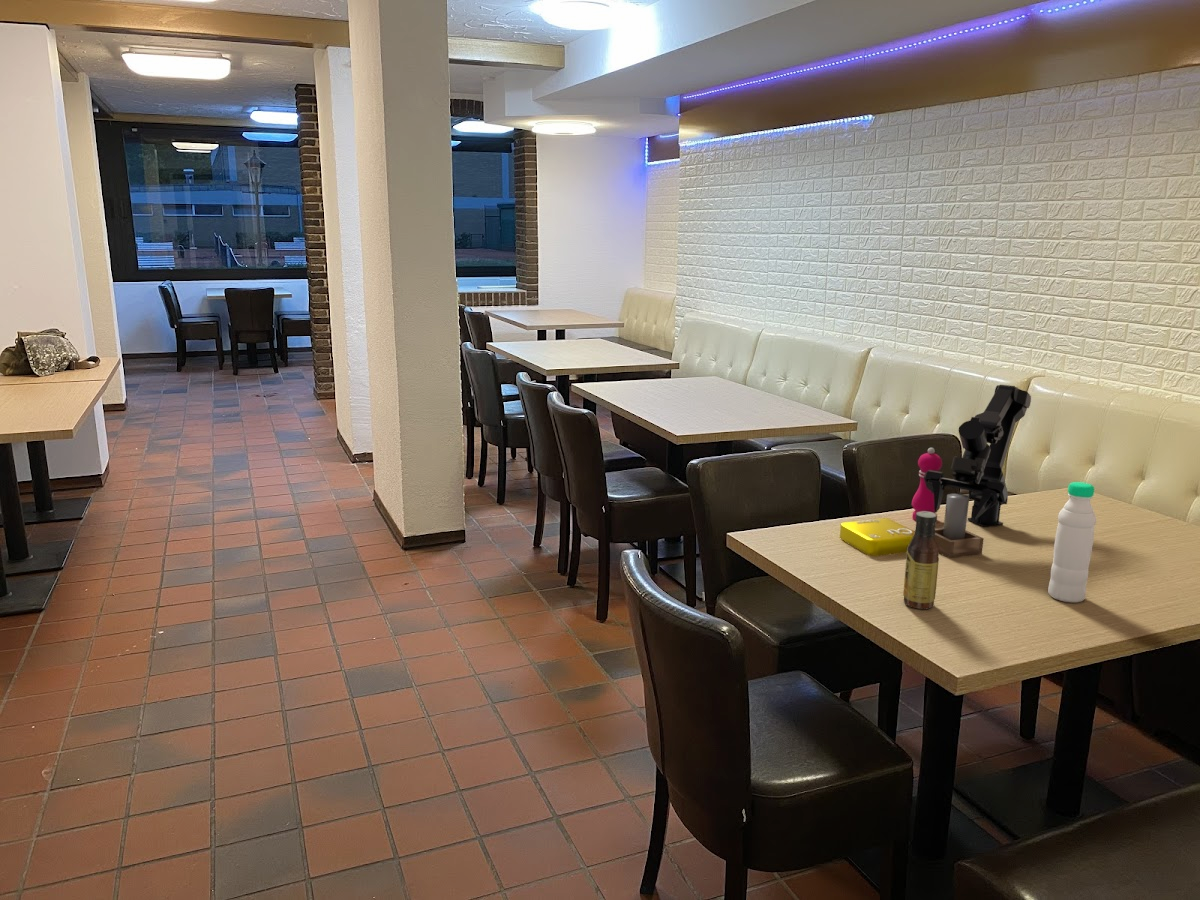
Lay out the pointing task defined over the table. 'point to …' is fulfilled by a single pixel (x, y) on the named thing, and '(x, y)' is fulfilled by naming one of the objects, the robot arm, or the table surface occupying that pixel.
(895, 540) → the element tile
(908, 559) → the sauce bottle
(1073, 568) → the water bottle
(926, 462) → the pepper mill
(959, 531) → the charcoal canister
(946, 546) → the walnut socket
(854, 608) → the table surface
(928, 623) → the table surface
